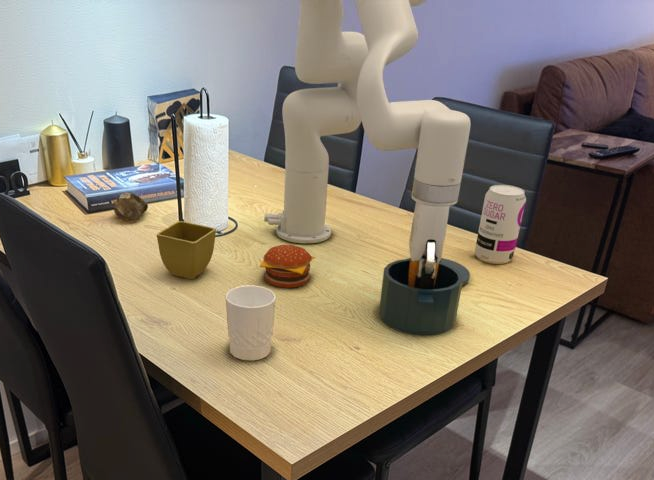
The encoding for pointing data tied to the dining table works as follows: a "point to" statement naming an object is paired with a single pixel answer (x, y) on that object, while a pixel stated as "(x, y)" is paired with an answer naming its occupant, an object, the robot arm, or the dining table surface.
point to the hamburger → (287, 266)
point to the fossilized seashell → (129, 207)
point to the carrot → (414, 271)
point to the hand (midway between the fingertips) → (420, 286)
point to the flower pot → (186, 248)
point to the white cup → (250, 321)
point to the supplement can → (500, 224)
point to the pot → (419, 300)
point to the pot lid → (457, 266)
